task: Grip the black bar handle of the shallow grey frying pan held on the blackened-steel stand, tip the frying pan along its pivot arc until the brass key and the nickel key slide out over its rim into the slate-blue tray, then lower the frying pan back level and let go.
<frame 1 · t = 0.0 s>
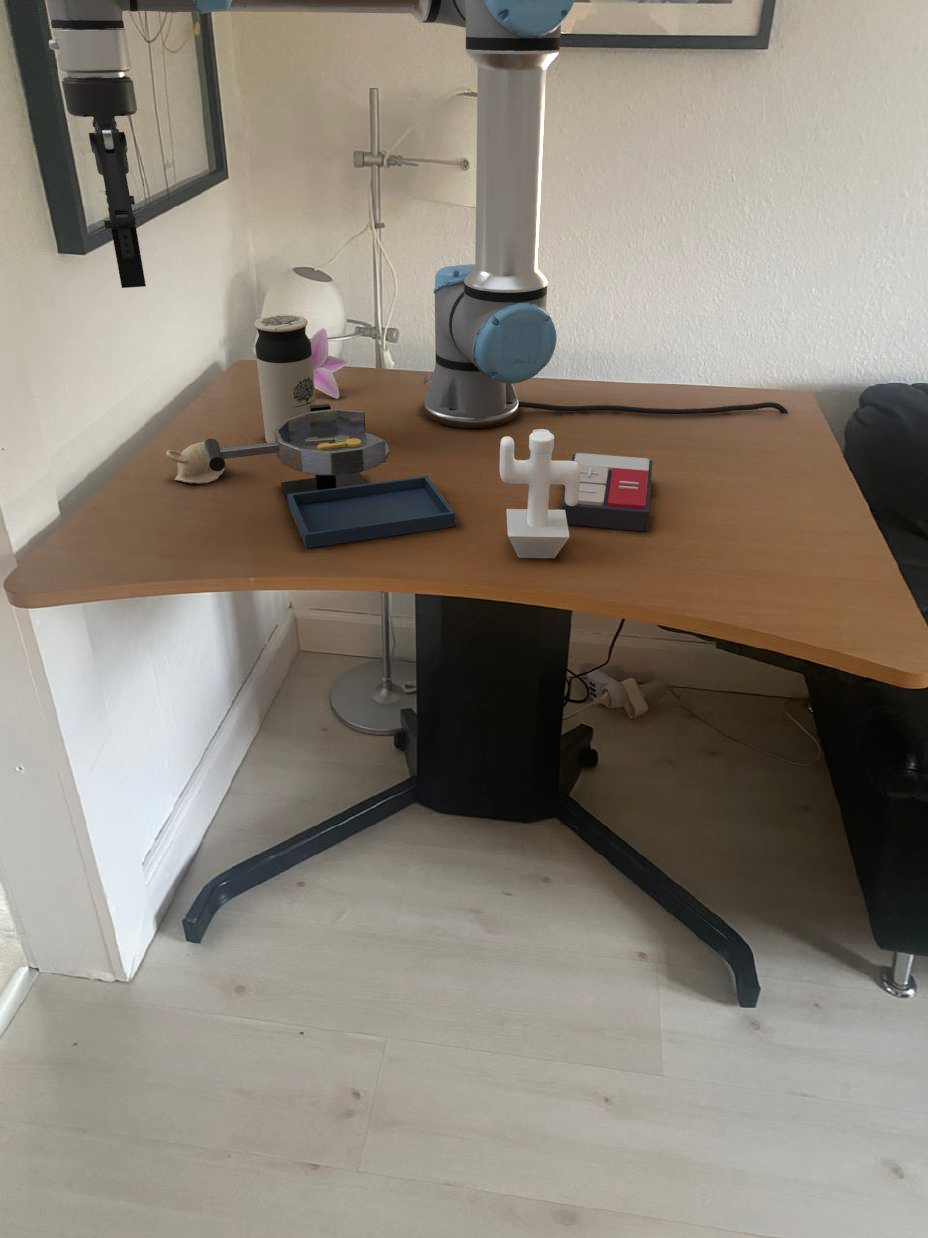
hand: (131, 273, 117), 28 cm above the table, tool pointing down, fingers open, 13 cm apart
brass key: (338, 446, 119), point 10 cm above the table, touching grey frying pan
travel mug: (292, 441, 146), on the table
calculator: (606, 504, 128), on the table
tray: (370, 516, 124), on the table
nickel key: (325, 441, 120), point 10 cm above the table, touching grey frying pan
grey frying pan: (298, 444, 116), point 11 cm above the table, hinge at 0.0°, touching brass key, nickel key
bowl stand: (340, 520, 123), on the table
decorative ornament: (198, 479, 134), on the table
lily: (312, 394, 164), on the table
figurine: (535, 550, 117), on the table
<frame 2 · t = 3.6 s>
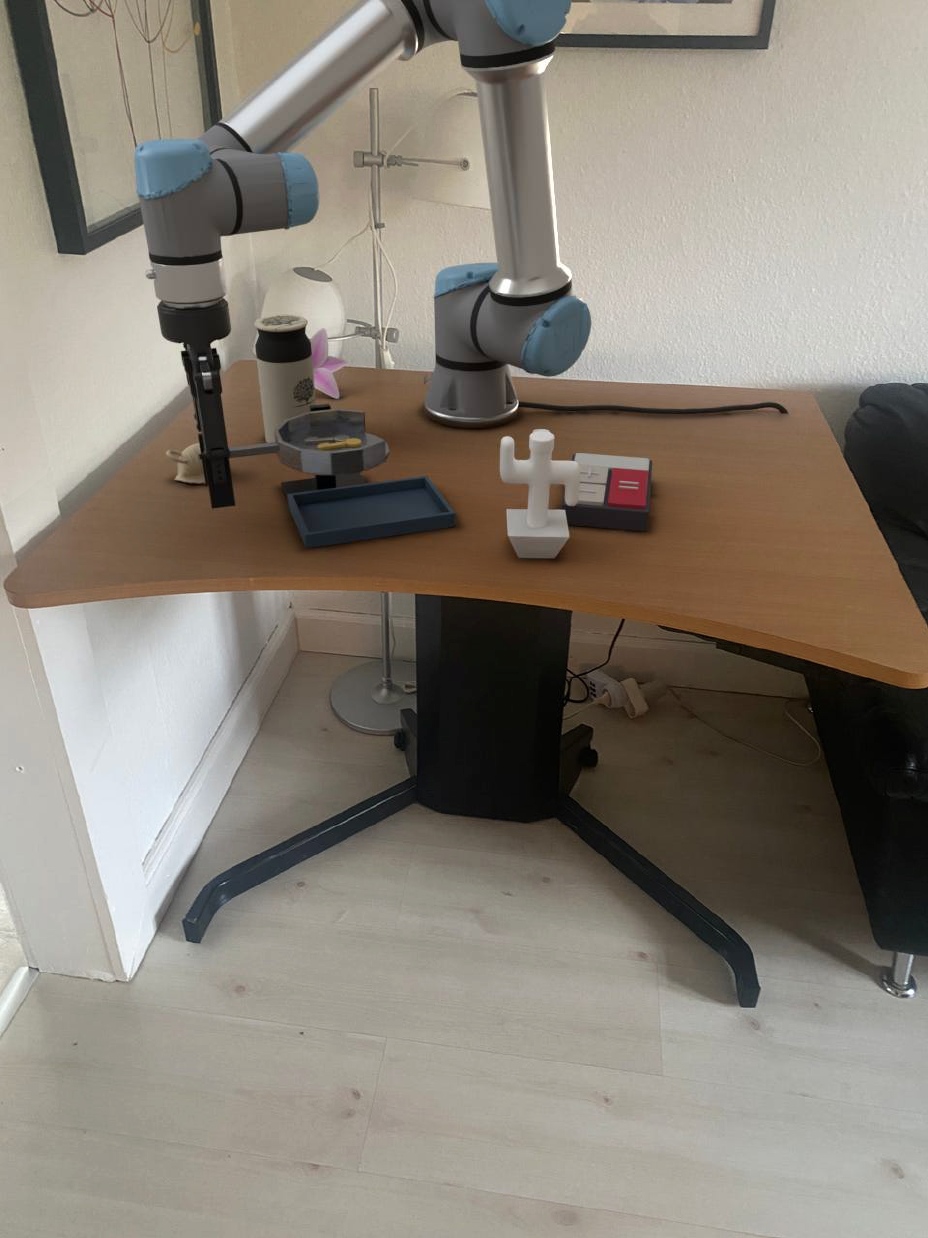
hand: (219, 493, 116), 6 cm above the table, tool pointing down, fingers closed on grey frying pan, 6 cm apart
grey frying pan: (298, 444, 116), point 11 cm above the table, hinge at 0.0°, touching brass key, gripper, nickel key
everything else where it was.
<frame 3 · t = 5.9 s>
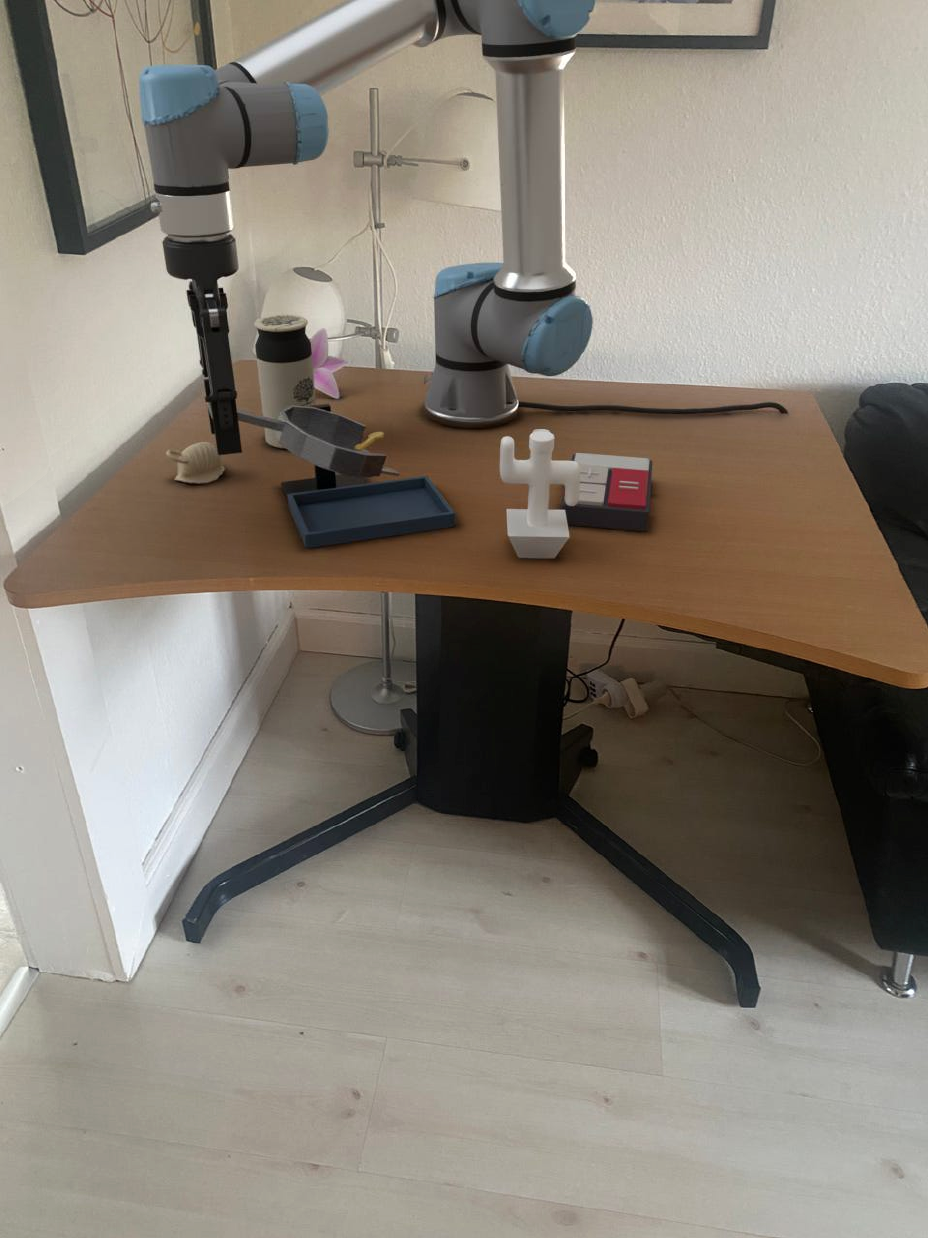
hand: (226, 441, 113), 12 cm above the table, tool pointing down, fingers closed on grey frying pan, 6 cm apart
brass key: (368, 443, 122), point 9 cm above the table, tilted 10°
nickel key: (380, 469, 117), point 8 cm above the table, tilted 158°, touching grey frying pan
grey frying pan: (299, 431, 115), point 12 cm above the table, hinge at 22.0°, touching gripper, nickel key
everything else where it was.
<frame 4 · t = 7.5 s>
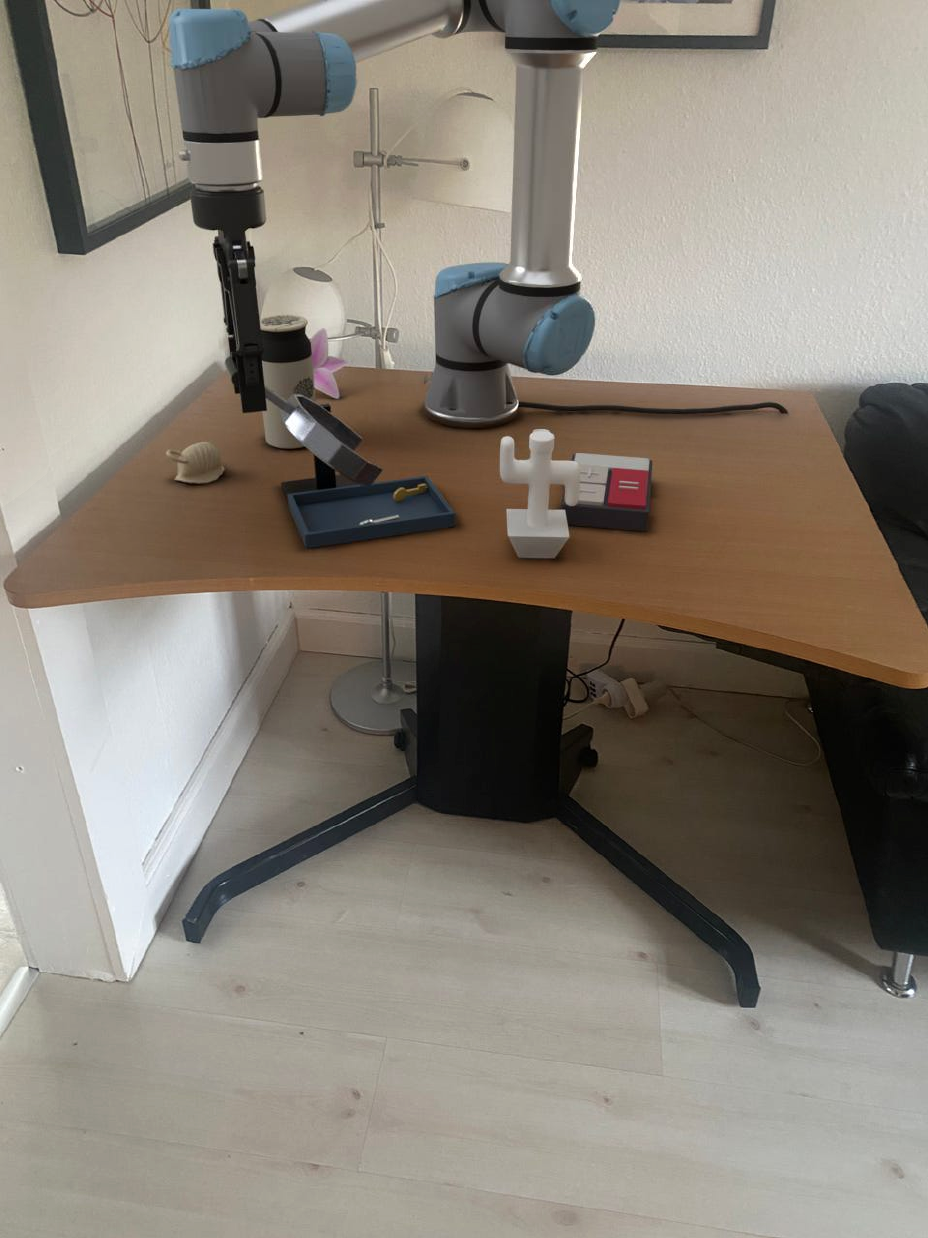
hand: (250, 400, 111), 17 cm above the table, tool pointing down, fingers closed on grey frying pan, 6 cm apart
brass key: (412, 492, 128), point 1 cm above the table, tilted 75°, touching tray
nickel key: (379, 520, 120), point 1 cm above the table, tilted 126°, touching tray
grey frying pan: (304, 420, 115), point 14 cm above the table, hinge at 41.9°, touching gripper
everything else where it was.
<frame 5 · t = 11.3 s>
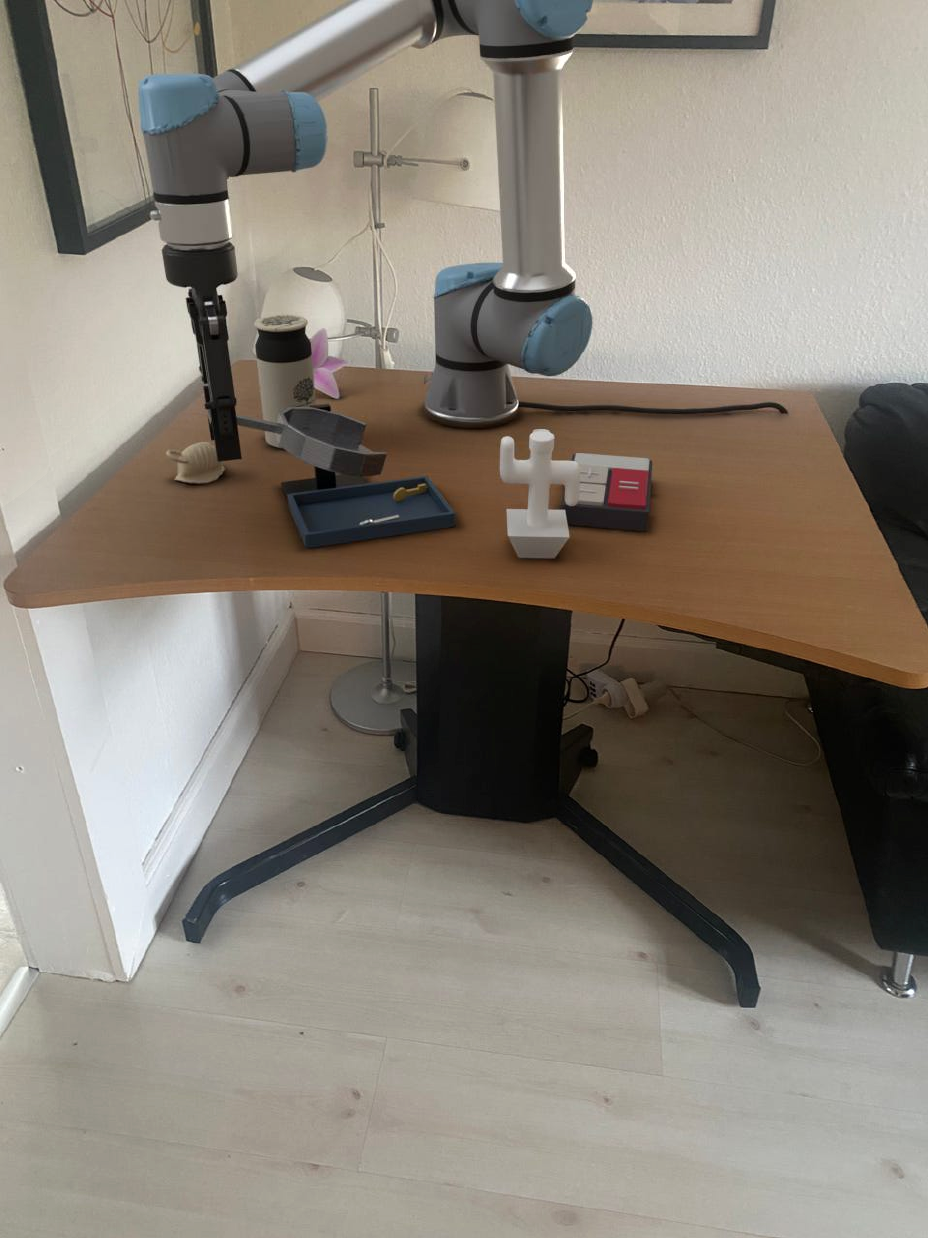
hand: (225, 447, 113), 12 cm above the table, tool pointing down, fingers closed on grey frying pan, 6 cm apart
grey frying pan: (299, 433, 115), point 12 cm above the table, hinge at 19.2°, touching gripper
everything else where it was.
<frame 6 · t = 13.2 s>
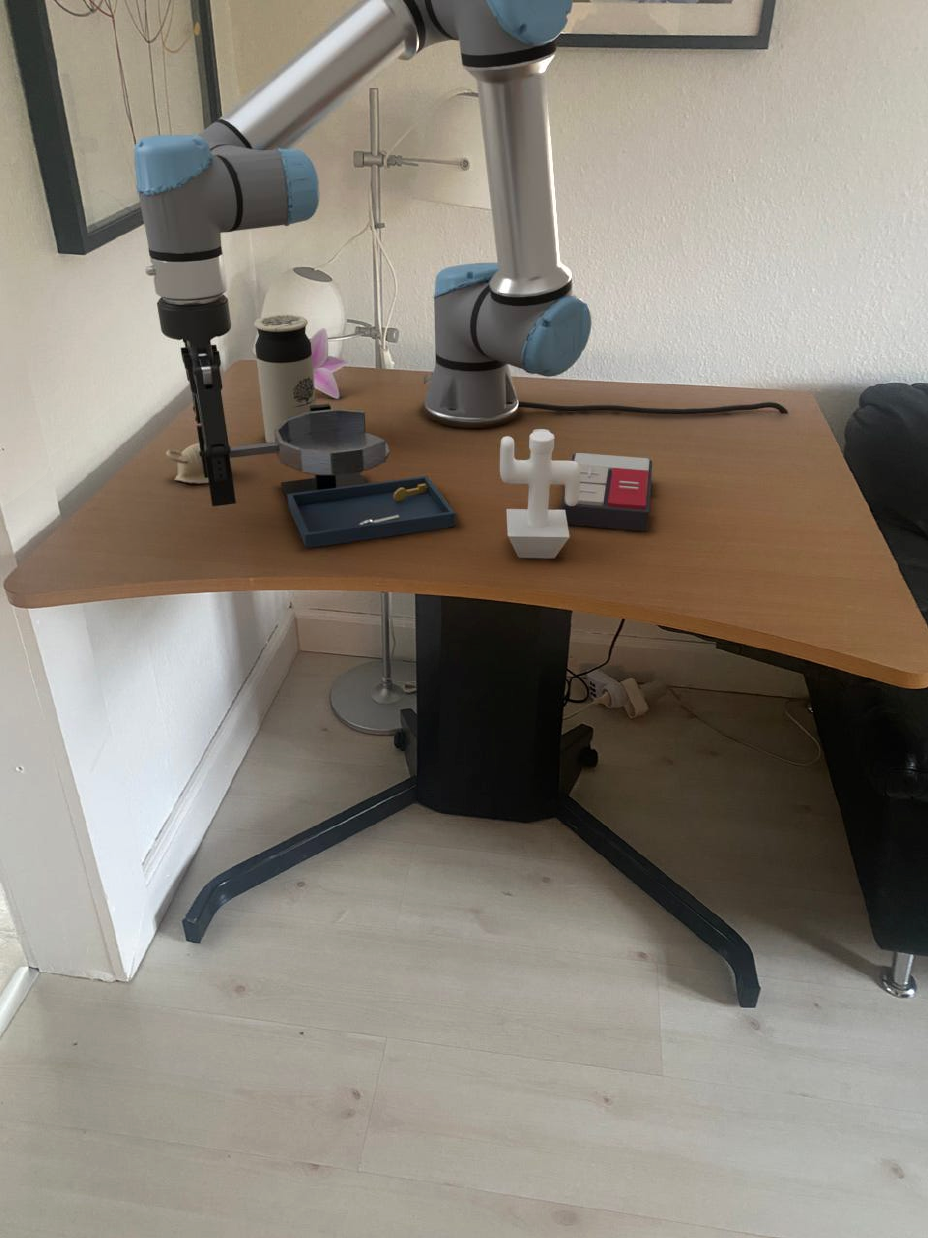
hand: (219, 488, 115), 7 cm above the table, tool pointing down, fingers open, 8 cm apart
grey frying pan: (298, 444, 116), point 11 cm above the table, hinge at 0.2°
everything else where it was.
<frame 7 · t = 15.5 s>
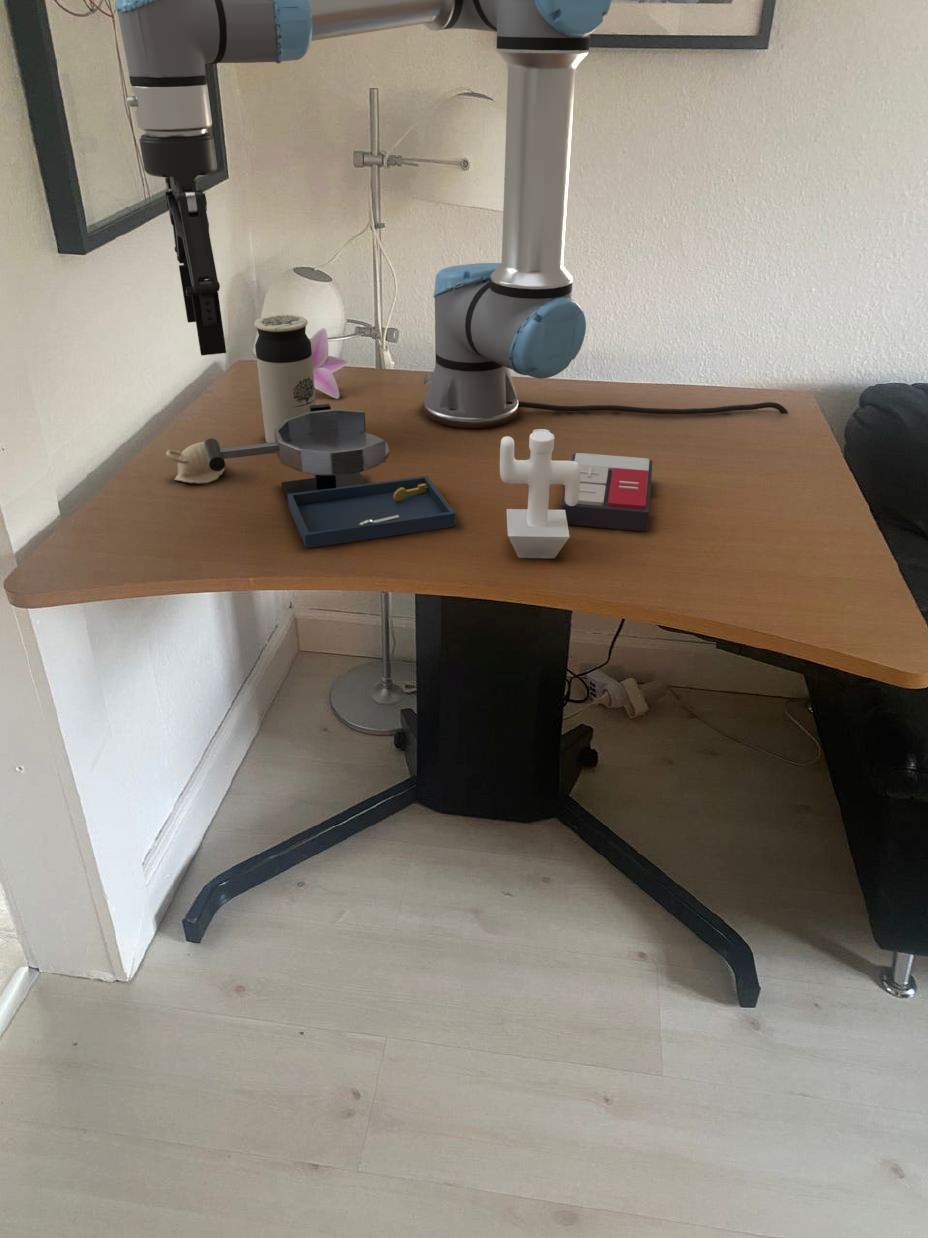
hand: (206, 336, 111), 23 cm above the table, tool pointing down, fingers open, 13 cm apart
nothing on the table moved.
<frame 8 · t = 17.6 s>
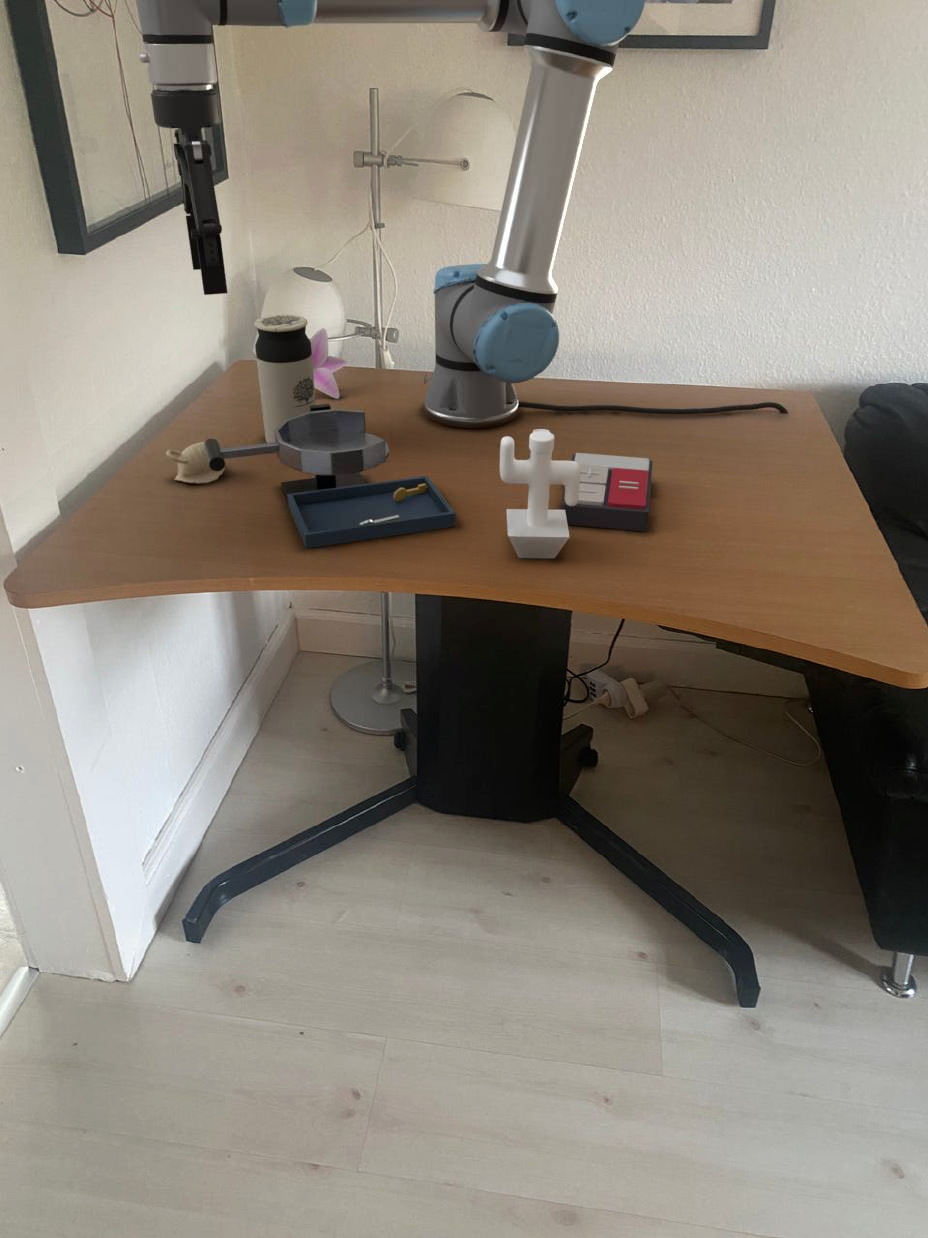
hand: (209, 280, 120), 27 cm above the table, tool pointing down, fingers open, 13 cm apart
nothing on the table moved.
at the end: brass key inside the target area in the tray (7.2 cm from its centre), point 1.1 cm above the tray's base; nickel key inside the target area in the tray (4.1 cm from its centre), point 1.4 cm above the tray's base; grey frying pan at +0° (first picture: +0°) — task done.
